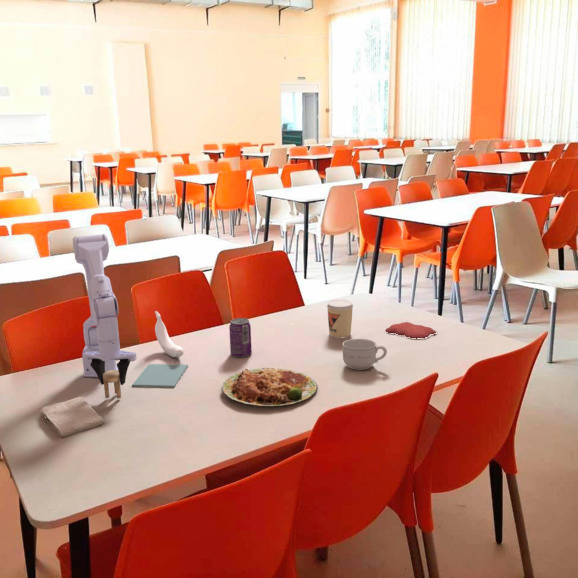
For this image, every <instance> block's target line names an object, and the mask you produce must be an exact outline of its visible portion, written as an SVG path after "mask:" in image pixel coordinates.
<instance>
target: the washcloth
mask: <svg viewBox="0 0 578 578" xmlns="http://www.w3.org/2000/svg"><path fill="white" fill-rule="evenodd" d="M41 413H42V415H43V417H44V416H45V417H46V418H44V420H45V419H46V420H45V421H46V423H47V424H48V423H49V424H48V425H49V427H51V429H52V428H53V429H52V430H53V431H54V433H56V435H57V436H58V437H59V438H64V437H67V436H70V435H74V434H75V433H79V432H83V431H87V430H90V429H92V428H95V427H100V426H101V425H103V424H104V423H105V422H104V420H103V417H102V416H101V415H100V414H99V413H98V412H97V411H96V410H95V409H94V407H92V406H91V405H90V404H89V403H88V402H87V401H86V399H85V398H84V397H83V396H82V397H81V396H78V397H74V398H72V399H69V400H66V401H62V402H55V403H52V404H49V405H45V406H43V407H42V408H41Z"/></svg>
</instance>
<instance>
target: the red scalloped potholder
mask: <svg viewBox="0 0 578 578" xmlns="http://www.w3.org/2000/svg"><path fill="white" fill-rule="evenodd" d="M385 331H386V332H388V333H396V334H398V335H405V336H406V337H410V338H416V339H417V338H425V337H428V336H429V335H430V334H434V333H436V332H437V331H436V330H435V329H433V328H431V327H428V326H425V325H421V324H414V323H412V322H409V321H405V322H400V323H395V324H392V325H390V326H389V327H387V328H386V329H385V330H384V332H385ZM386 332H385V333H386ZM388 333H387V334H388ZM396 334H395V335H396ZM398 335H397V336H398ZM406 337H405V338H406Z"/></svg>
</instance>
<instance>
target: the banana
mask: <svg viewBox="0 0 578 578" xmlns="http://www.w3.org/2000/svg"><path fill="white" fill-rule="evenodd" d="M154 314H155V316H156V319H157V320H156V323H155V325H154V332H155V336H156V340H157V342H158V344H159V346H160V347H161V349H162V350H163V351H164V353H166V354H167V355H168V356H170V357H172V358H180V357H182V356H183V355H184V352H185V351H184V348H183V347H181V345H176V344H175V343H174V342H173V341H172V339H171V338H170V336H169V334H168V333H169V332H168V330H167V328H166V325H165V323H164V322H163V320H162V318H161V314H160V313H159V311H157V310H155V311H154Z"/></svg>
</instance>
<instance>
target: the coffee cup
mask: <svg viewBox="0 0 578 578" xmlns="http://www.w3.org/2000/svg"><path fill="white" fill-rule="evenodd" d="M326 307H327V320H328V321H327V322H328V332H329V336H330V337H332V338H334V337H338V338H337V339H343V338H342V337H346V338H348V336H349V335H350V336H351V333H352V322H353V321H352V320H353V307H354V304H353V302H352V301H350V300H346V299H333V300H330V301H328V302H327V304H326ZM350 336H349V337H350Z"/></svg>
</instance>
